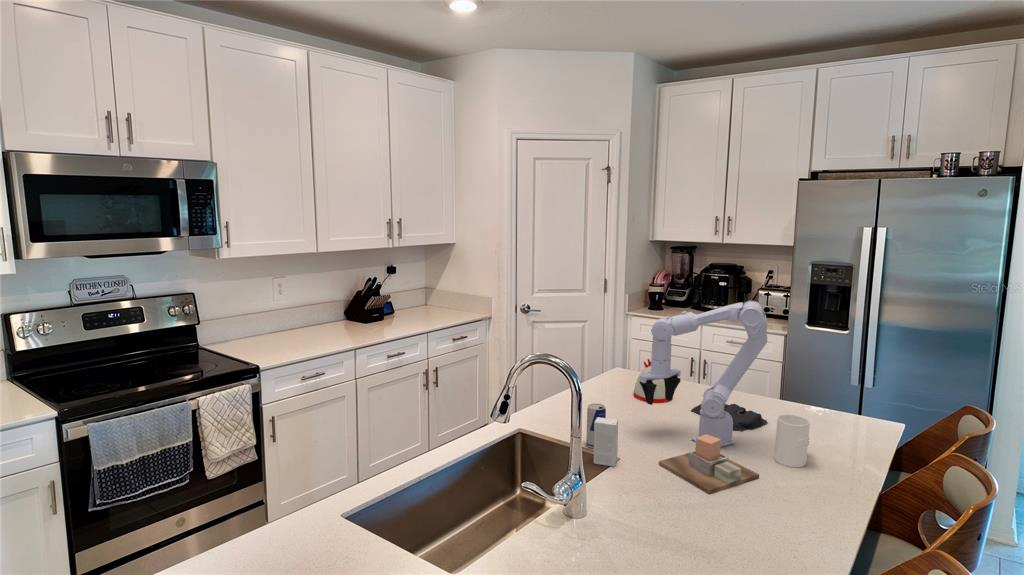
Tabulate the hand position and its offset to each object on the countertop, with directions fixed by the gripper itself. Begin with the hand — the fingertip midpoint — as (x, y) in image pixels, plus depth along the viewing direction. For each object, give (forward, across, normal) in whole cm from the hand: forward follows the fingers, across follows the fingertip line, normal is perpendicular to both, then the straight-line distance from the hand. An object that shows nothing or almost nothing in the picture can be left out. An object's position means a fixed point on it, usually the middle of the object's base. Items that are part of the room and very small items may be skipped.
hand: (659, 401), depth 178 cm
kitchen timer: (+11, -22, -27) cm, 36 cm away
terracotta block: (+6, +5, +25) cm, 26 cm away
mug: (+11, -22, +31) cm, 39 cm away
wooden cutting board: (+10, +5, +25) cm, 28 cm away
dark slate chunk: (+11, -30, 0) cm, 32 cm away
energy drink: (+11, +22, -2) cm, 25 cm away
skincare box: (+11, +26, +8) cm, 29 cm away
